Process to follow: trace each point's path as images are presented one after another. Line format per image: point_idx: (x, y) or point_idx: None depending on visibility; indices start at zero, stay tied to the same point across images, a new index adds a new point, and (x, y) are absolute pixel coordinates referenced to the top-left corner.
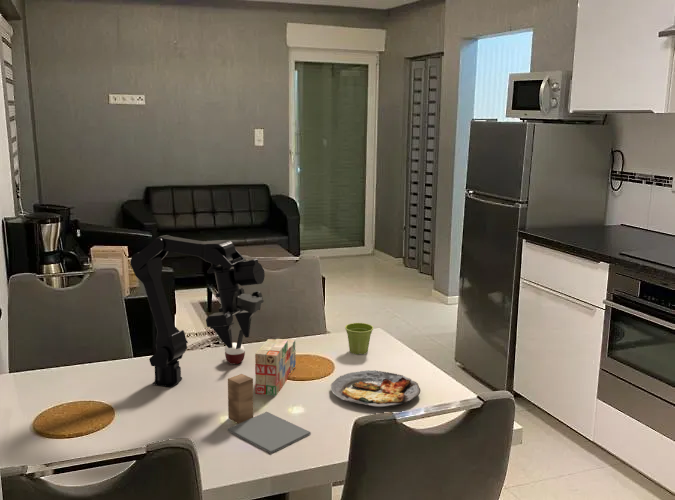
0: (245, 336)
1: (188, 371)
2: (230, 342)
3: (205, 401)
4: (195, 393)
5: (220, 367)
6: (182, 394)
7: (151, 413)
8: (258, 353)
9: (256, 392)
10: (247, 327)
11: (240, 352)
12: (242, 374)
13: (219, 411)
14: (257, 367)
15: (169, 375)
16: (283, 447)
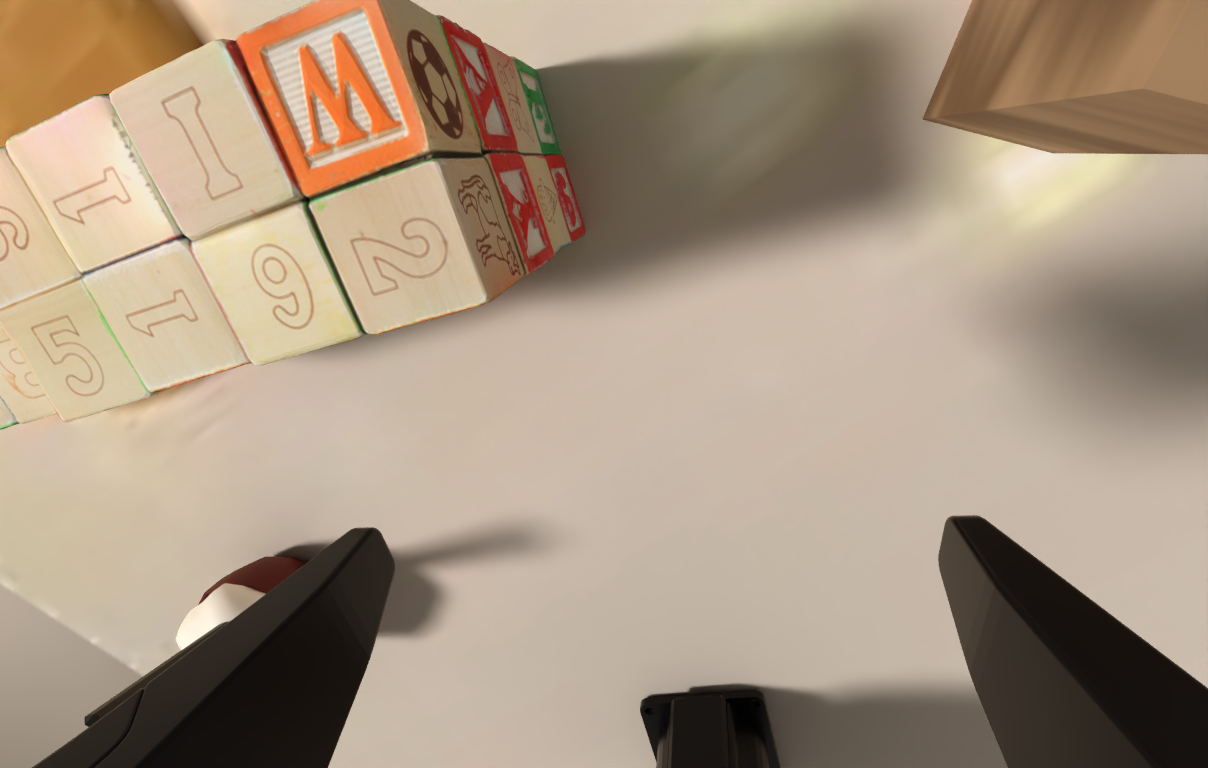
0: (388, 574)
1: (542, 715)
2: (1082, 598)
3: (846, 448)
4: (768, 555)
5: (403, 613)
6: (813, 605)
7: (1124, 618)
8: (462, 266)
9: (580, 226)
10: (262, 676)
11: (253, 597)
12: (1175, 53)
13: (955, 285)
14: (527, 246)
15: (750, 765)
16: None
